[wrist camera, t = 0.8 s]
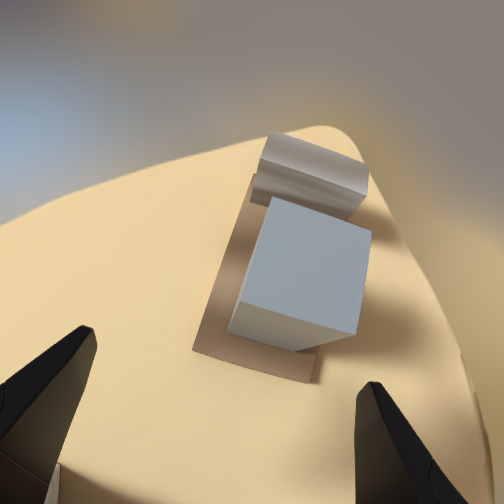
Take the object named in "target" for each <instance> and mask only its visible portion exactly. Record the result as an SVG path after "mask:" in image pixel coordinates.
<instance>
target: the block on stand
mask: <svg viewBox="0 0 504 504" xmlns="http://www.w3.org/2000/svg"><path fill="white" fill-rule="evenodd" d="M368 178H369V165H367V164H365V163H362V162H360V161H357V160H355V159H352V158H350V157H347V156H344V155H342V154H339V153H337V152H334V151H331V150H329V149H326V148H323V147H320V146H317V145H315V144H312V143H309V142H306V141H303V140H300V139H297V138H294V137H291V136H288V135H285V134H282V133H279V132H275V131H272V130H271V131H270V133H269V136H268V138H267V141H266V144H265V146H264V149H263V152H262V154H261V157H260V160H259V164H258V169H257V173H256V174H253V177H252V180H251V182H250V185H249V188H248V190H247V193H246V196H245V199H244V201H243V204H242V207H241V210H240V212H239V215H238V218H237V221H236V223H235V226H234V229H233V232H232V235H231V237H230V240H229V243H228V246H227V249H226V251H225V254H224V257H223V260H222V263H221V266H220V269H219V271H218V274H217V277H216V280H215V283H214V286H213V289H212V292H211V295H210V297H209V300H208V303H207V306H206V309H205V312H204V315H203V318H202V321H201V324H200V327H199V330H198V333H197V336H196V339H195V342H194V345H193V348H192V350H193V351H195V352H198V353H201V354H204V355H207V356H210V357H213V358H216V359H220V360H223V361H226V362H229V363H232V364H236V365H239V366H242V367H246V368H249V369H253V370H256V371H260V372H263V373H267V374H271V375H275V376H278V377H282V378H286V379H290V380H294V381H298V382H302V383H308V384H309V382H310V379H311V375H312V371H313V368H314V364H315V360H316V356H317V352H318V348H319V345H318V346H314V347H310V348H306V349H302V350H298V351H294V352H292V351H288V350H285V349H281V348H278V347H274V346H271V345H267V344H264V343H260V342H257V341H254V340H250V339H247V338H244V337H240V336H237V335H234V334H231V333H228V332H227V330H228V327H229V324H230V320H231V317H232V314H233V311H234V308H235V305H236V301H237V298H238V295H239V292H240V289H241V286H242V283H243V279H244V276H245V273H246V270H247V267H248V264H249V261H250V259H251V256H252V253H253V250H254V247H255V244H256V242H257V239H258V236H259V233H260V230H261V227H262V225H263V222H264V219H265V216H266V213H267V210H268V208H269V205H270V202H271V199H272V196H273V197H276V198H279V199H282V200H285V201H288V202H291V203H294V204H297V205H300V206H303V207H306V208H309V209H312V210H314V211H317V212H320V213H323V214H326V215H329V216H331V217H334V218H337V219H340V220H343V221H345V222H346V220H347V219H348V218H349V217H350V216H351V214H352V213H353V212H354V211H355V210H356V208H357V207H358V206H359V205H360V204H361V202H362V201H363V200H364V199H365V198H366V196H367V189H368Z"/></svg>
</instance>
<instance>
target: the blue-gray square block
mask: <svg viewBox="0 0 504 504" xmlns="http://www.w3.org/2000/svg"><path fill="white" fill-rule="evenodd" d="M371 237H372V231H370V230H367V229H364V228H362V227H359V226H356V225H354V224H351V223H348V222H345V221H343V220H340V219H337V218H334V217H331V216H329V215H326V214H323V213H320V212H317V211H314V210H312V209H309V208H306V207H303V206H300V205H297V204H294V203H291V202H288V201H285V200H282V199H279V198H276V197H273V196H272V199H271V202H270V205H269V208H268V210H267V213H266V216H265V219H264V222H263V225H262V227H261V230H260V233H259V236H258V239H257V242H256V244H255V247H254V250H253V253H252V256H251V259H250V261H249V264H248V267H247V270H246V273H245V276H244V279H243V283H242V286H241V289H240V292H239V295H238V298H237V301H236V305H235V308H234V311H233V314H232V317H231V320H230V324H229V327H228V330H227V332H228V333H231V334H234V335H237V336H240V337H244V338H247V339H250V340H254V341H257V342H260V343H264V344H267V345H271V346H274V347H278V348H281V349H285V350H288V351H292V352H294V351H298V350H302V349H306V348H310V347H314V346H318V345H322V344H325V343H329V342H333V341H336V340H340V339H344V338H347V337H351V336H354V335H356V331H357V326H358V321H359V316H360V310H361V305H362V299H363V293H364V287H365V281H366V274H367V267H368V260H369V253H370V245H371Z"/></svg>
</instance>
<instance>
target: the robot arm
mask: <svg viewBox="0 0 504 504" xmlns="http://www.w3.org/2000/svg"><path fill="white" fill-rule="evenodd" d="M96 351H97V341H96V337H95V333H94V330H93V328H91V327H88V326H85V325H81V326H79V327H78V328H76V329H75V330H74V331H72V332H71V333H69V334H68V335H67V336H65V337H64V338H62V339H61V340H60V341H58V342H57V343H56V344H54V345H53V346H51V347H50V348H49V349H47V350H46V351H45V352H43V353H42V354H41V355H39V356H38V357H37V358H35V359H34V360H33V361H31V362H30V363H29V364H27V365H26V366H25V367H23V368H22V369H21V370H19V371H18V372H17V373H15V374H14V375H13V376H11V377H10V378H9V379H7V380H6V381H5V383H2V384H1V385H0V504H44V503H45V499H46V496H47V492H48V489H49V485H50V482H51V479H52V476H53V473H54V470H55V467H56V464H57V461H58V458H59V455H60V452H61V449H62V446H63V444H64V441H65V438H66V436H67V433H68V430H69V428H70V425H71V422H72V420H73V417H74V415H75V412H76V410H77V407H78V405H79V402H80V400H81V397H82V395H83V392H84V390H85V387H86V384H87V380H88V377H89V373H90V370H91V367H92V364H93V360H94V357H95V354H96ZM354 447H355V489H356V502H355V504H468V502H467V501H466V500H465V499H464V498H463V497H462V495H461V494H460V493H459V492H458V491H457V489H456V488H455V487H454V486H453V485H452V483H451V482H450V481H449V480H448V478H447V477H446V476H445V474H444V473H443V472H442V470H441V469H440V467H439V466H438V465H437V463H436V462H435V460H434V459H432V456H431V454H430V453H429V451H428V450H427V448H426V447H425V445H424V444H423V443H422V441H421V440H420V438H419V437H418V435H417V434H416V432H415V431H414V429H413V428H412V427H411V425H410V424H409V422H408V421H407V419H406V418H405V417H404V415H403V414H402V412H401V411H400V409H399V408H398V407H397V405H396V404H395V402H394V401H393V399H392V398H391V397H390V395H389V394H388V392H387V391H386V390H385V388H384V387H383V385H382V384H381V383H380V382H373V381H370V382H368V383H367V384H366V385H365V386H364V387H363V388H362V390H361V391H360V392H359V393H358V395H357V398H356V415H355V432H354Z"/></svg>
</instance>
